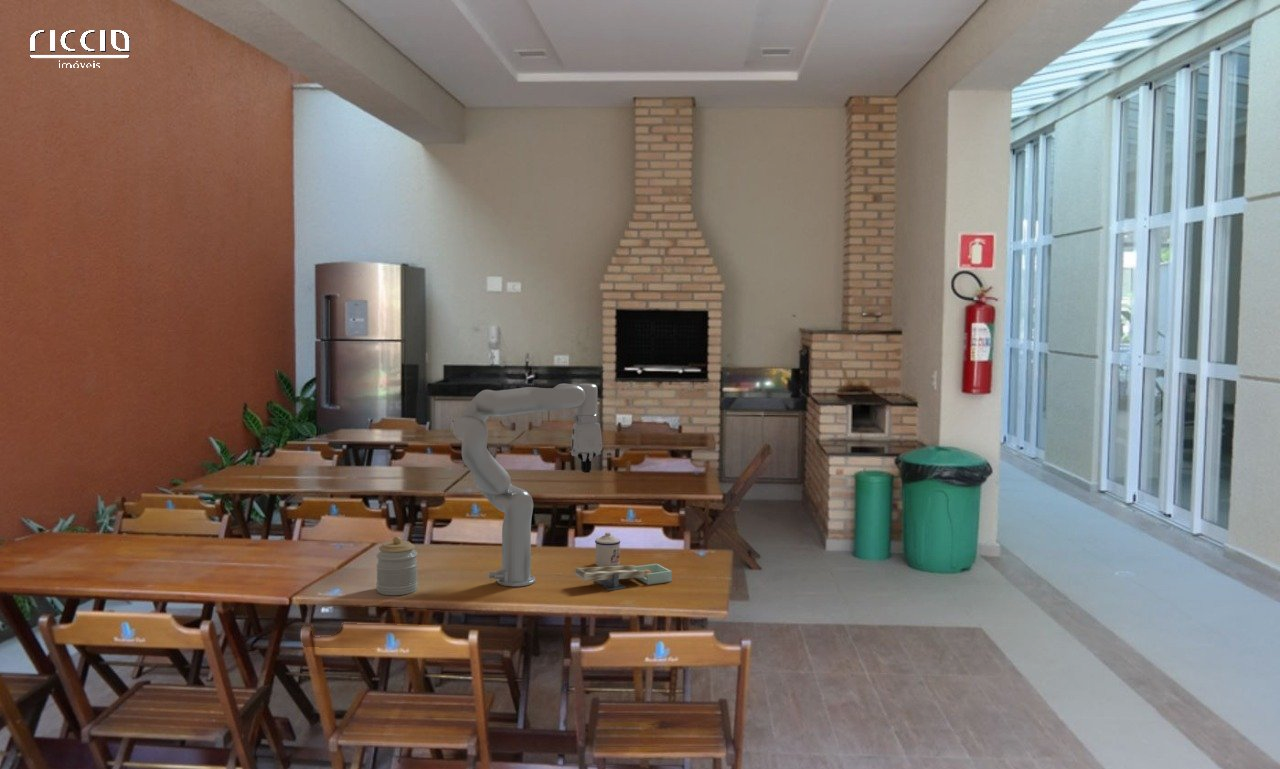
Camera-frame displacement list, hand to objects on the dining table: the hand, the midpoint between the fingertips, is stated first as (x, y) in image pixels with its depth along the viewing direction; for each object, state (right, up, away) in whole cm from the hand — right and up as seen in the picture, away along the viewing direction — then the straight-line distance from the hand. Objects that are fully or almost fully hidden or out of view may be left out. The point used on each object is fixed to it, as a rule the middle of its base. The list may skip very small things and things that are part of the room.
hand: (585, 472), depth 326 cm
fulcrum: (+9, -36, -13) cm, 39 cm away
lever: (+7, -33, -11) cm, 36 cm away
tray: (+23, -36, -6) cm, 43 cm away
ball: (+21, -34, -7) cm, 41 cm away
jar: (-60, -36, -22) cm, 73 cm away
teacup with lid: (+8, -35, +13) cm, 38 cm away
